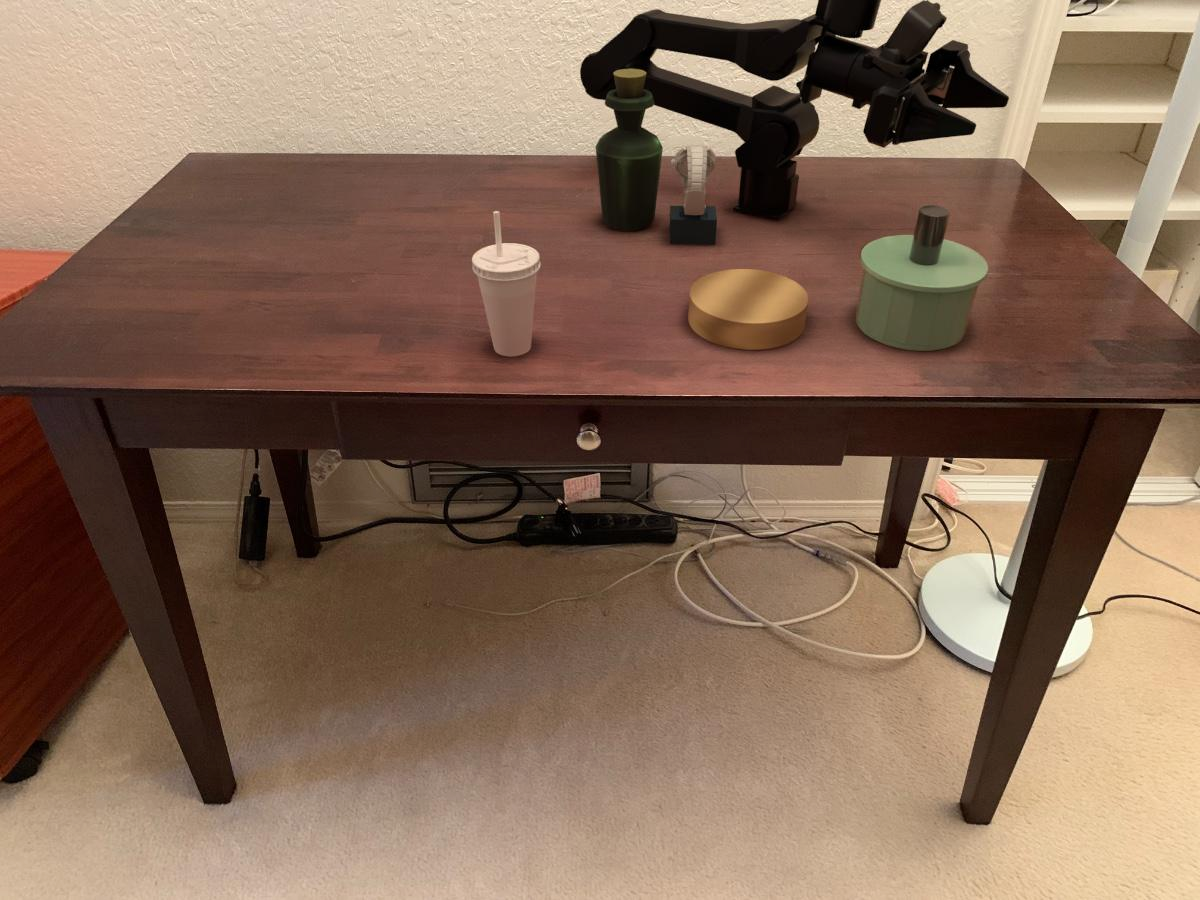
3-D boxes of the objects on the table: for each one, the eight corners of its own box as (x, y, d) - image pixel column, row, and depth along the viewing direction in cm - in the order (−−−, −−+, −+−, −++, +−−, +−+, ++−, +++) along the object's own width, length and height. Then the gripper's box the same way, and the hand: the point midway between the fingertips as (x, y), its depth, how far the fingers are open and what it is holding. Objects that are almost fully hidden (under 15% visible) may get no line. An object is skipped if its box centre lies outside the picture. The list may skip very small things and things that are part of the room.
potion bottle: (583, 220, 116) (580, 72, 105) (630, 204, 120) (632, 60, 109) (626, 240, 111) (627, 86, 100) (673, 222, 115) (680, 73, 104)
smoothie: (480, 332, 93) (468, 200, 84) (543, 329, 93) (537, 197, 85) (479, 365, 87) (465, 227, 79) (546, 361, 88) (539, 224, 80)
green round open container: (840, 333, 92) (850, 273, 88) (874, 291, 99) (885, 234, 95) (948, 361, 87) (964, 300, 83) (976, 315, 95) (991, 257, 91)
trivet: (667, 330, 93) (668, 304, 91) (718, 284, 101) (720, 259, 99) (777, 361, 88) (780, 334, 86) (821, 311, 96) (826, 285, 94)
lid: (841, 280, 88) (851, 219, 85) (880, 236, 96) (891, 179, 93) (968, 310, 83) (984, 246, 79) (997, 261, 91) (1014, 202, 88)
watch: (712, 224, 114) (719, 136, 108) (716, 250, 108) (722, 159, 101) (668, 223, 115) (671, 135, 108) (668, 250, 108) (672, 158, 102)
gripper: (836, 19, 92) (984, 63, 85) (915, -23, 103) (1051, 14, 96) (813, 125, 100) (946, 173, 93) (888, 76, 111) (1012, 116, 104)
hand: (991, 115), depth 96 cm, fingers open, 9 cm apart
